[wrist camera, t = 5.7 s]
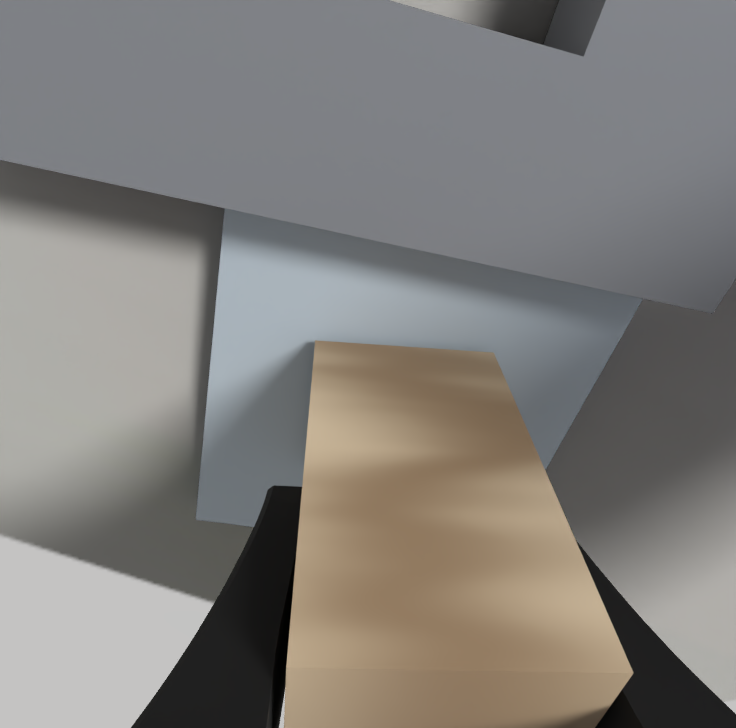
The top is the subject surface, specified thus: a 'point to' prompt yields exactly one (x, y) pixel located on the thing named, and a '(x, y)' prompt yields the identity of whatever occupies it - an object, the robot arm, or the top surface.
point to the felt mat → (375, 342)
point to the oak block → (436, 557)
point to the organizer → (405, 126)
